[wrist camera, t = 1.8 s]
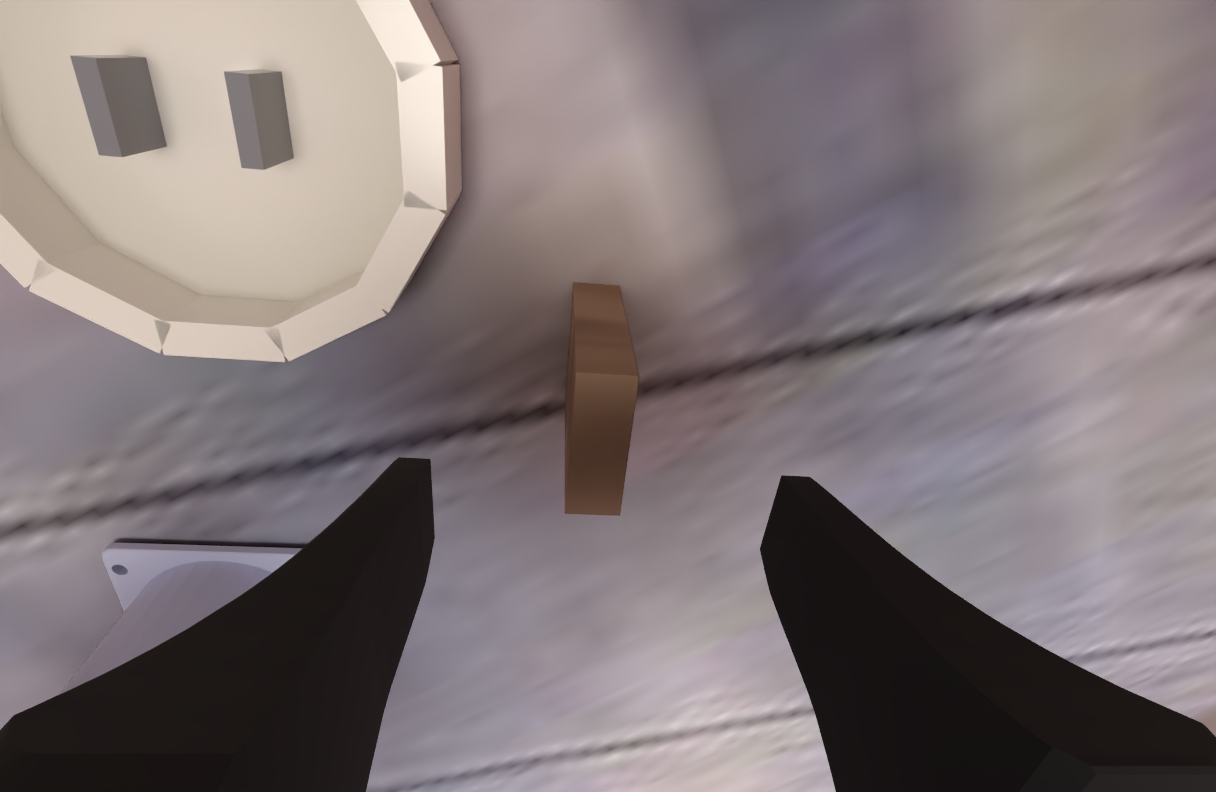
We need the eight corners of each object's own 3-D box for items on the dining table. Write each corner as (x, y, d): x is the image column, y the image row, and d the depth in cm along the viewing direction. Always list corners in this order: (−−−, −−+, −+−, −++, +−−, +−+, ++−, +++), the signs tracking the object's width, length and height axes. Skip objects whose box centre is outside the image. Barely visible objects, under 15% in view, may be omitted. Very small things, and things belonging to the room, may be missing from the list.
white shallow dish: (464, 335, 19) (451, 372, 17) (52, 308, 18) (-19, 344, 16) (455, -165, 13) (434, -208, 11) (-155, -254, 12) (-311, -319, 10)
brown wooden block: (606, 398, 21) (619, 515, 15) (565, 396, 21) (564, 513, 15) (619, 285, 19) (639, 376, 14) (573, 282, 19) (576, 372, 13)
